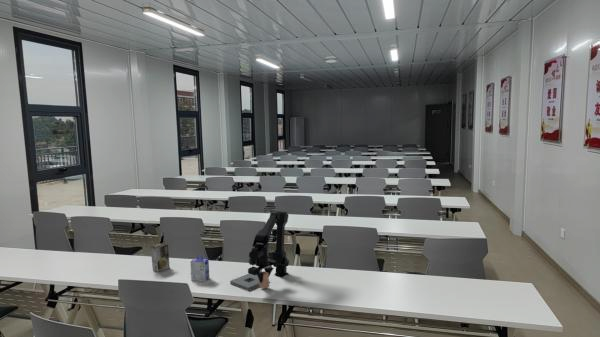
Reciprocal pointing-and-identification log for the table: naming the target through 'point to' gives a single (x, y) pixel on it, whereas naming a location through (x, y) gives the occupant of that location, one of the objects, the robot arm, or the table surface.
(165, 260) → the coffee box
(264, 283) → the tan rectangular block
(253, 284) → the pocket plate
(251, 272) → the robot arm
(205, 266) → the ink cartridge box
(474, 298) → the table surface
